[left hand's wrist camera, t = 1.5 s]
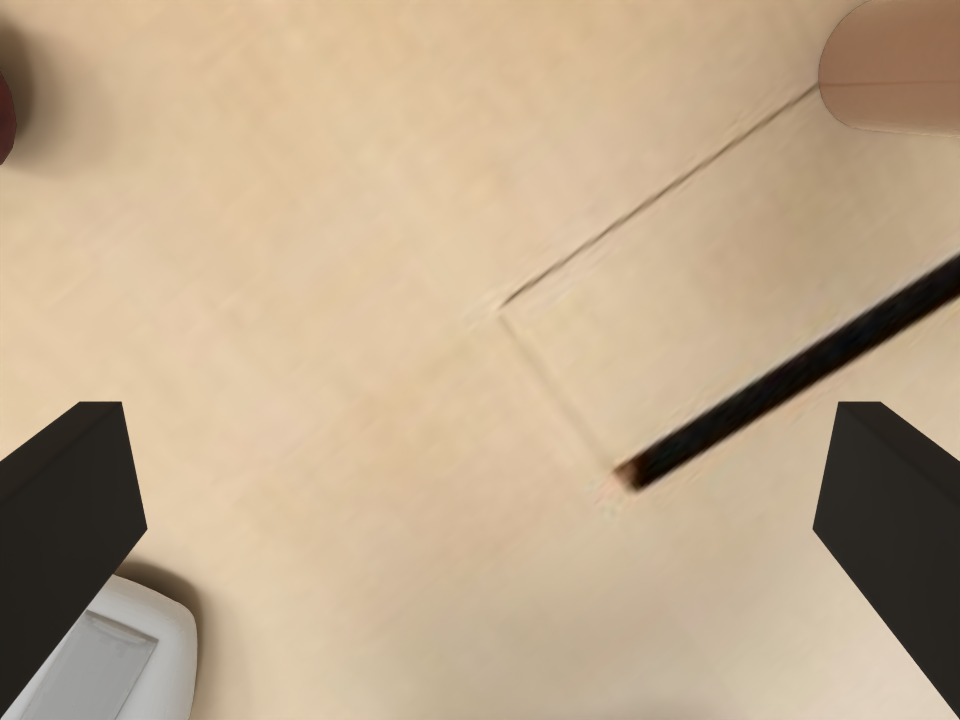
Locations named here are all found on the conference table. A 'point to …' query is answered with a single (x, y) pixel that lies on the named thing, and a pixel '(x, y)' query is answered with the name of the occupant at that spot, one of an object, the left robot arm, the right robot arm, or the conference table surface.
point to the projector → (118, 662)
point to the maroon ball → (6, 120)
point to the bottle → (895, 67)
